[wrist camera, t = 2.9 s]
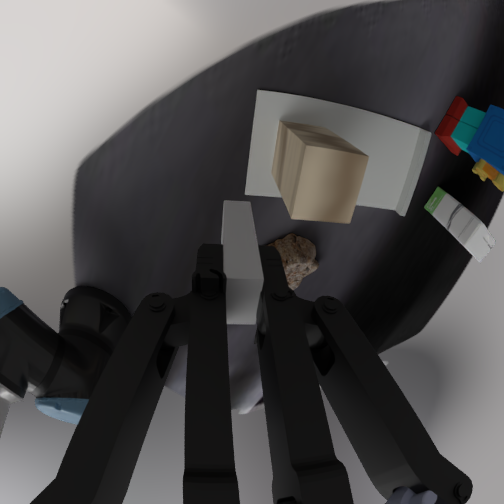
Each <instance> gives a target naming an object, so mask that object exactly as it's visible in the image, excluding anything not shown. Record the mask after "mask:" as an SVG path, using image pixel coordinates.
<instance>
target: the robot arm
mask: <svg viewBox="0 0 504 504" xmlns="http://www.w3.org/2000/svg"><path fill="white" fill-rule="evenodd" d="M256 318H257V330H256V335H255V340H254V344H256V343H257V347H258V355H259V364H260V372H261V381H262V389H263V397H264V406H265V414H266V421H267V430H268V438H269V447H270V454H271V462H272V470H273V481H272V494H273V502H274V504H354V503H353V498H352V493H351V489H350V484H349V478H348V474H347V471H346V468H345V466H344V465H343V463H342V462H340V461H339V460H338V459H337V458H336V456H335V453H334V448H333V443H332V439H331V434H330V430H329V425H328V421H327V417H326V412H325V408H324V404H323V400H322V395H321V391H320V387H319V384H320V386H321V388H322V390H323V391H324V393H325V395H326V397H327V399H328V401H329V403H330V405H331V407H332V409H333V410H334V412H335V414H336V416H337V418H338V420H339V422H340V424H341V425H342V427H343V429H344V431H345V433H346V435H347V437H348V438H349V441H350V442H351V444H352V446H353V448H354V450H355V452H356V454H357V456H358V458H359V459H360V461H361V463H362V465H363V467H364V469H365V471H366V473H367V474H368V476H369V478H370V480H371V481H372V483H373V485H374V486H375V488H376V489H377V490H378V491H379V493H380V494H381V495H382V496H383V497H384V498H385V499H387V500H388V501H387V502H386V503H385V504H465V503H466V502H467V501H468V500H469V498H470V496H471V494H472V488H473V485H472V481H471V480H470V478H469V477H468V476H467V475H466V474H464V473H463V472H462V471H460V470H459V469H458V468H457V467H456V466H454V465H453V464H452V463H451V462H449V461H448V460H447V459H446V458H444V457H443V456H442V455H441V454H440V453H439V452H438V450H437V448H436V446H435V445H434V443H433V441H432V440H431V438H430V436H429V435H428V433H427V431H426V430H425V428H424V426H423V425H422V423H421V421H420V420H419V418H418V416H417V415H416V413H415V412H414V410H413V408H412V407H411V405H410V404H409V402H408V401H407V399H406V398H405V396H404V394H403V393H402V391H401V389H400V388H399V386H398V385H397V383H396V382H395V380H394V379H393V377H392V376H391V374H390V373H389V371H388V369H387V368H386V366H385V365H384V363H383V362H382V360H381V359H380V357H379V356H378V354H377V353H376V351H375V350H374V348H373V347H372V345H371V344H370V343H369V341H368V340H367V338H366V337H365V335H364V334H363V332H362V331H361V329H360V328H359V327H358V325H357V324H356V322H355V321H354V319H353V318H352V317H351V315H350V314H349V312H348V311H347V309H346V308H345V307H344V305H343V304H342V303H341V302H340V301H339V300H338V299H336V298H334V297H331V296H321V297H319V298H317V300H316V301H315V302H312V301H308V300H304V299H301V298H299V297H297V296H296V294H295V292H294V291H293V290H292V289H291V288H290V287H289V286H288V282H287V278H286V275H285V271H284V267H283V263H282V261H281V256H280V252H279V251H278V250H277V249H276V248H275V247H274V246H260V245H258V243H257V237H256V232H255V226H254V220H253V215H252V209H251V204H250V202H245V201H228V200H224V207H223V221H222V236H221V244H202V246H201V247H200V248H199V249H198V255H197V264H196V271H195V272H194V273H193V275H192V291H191V292H190V293H189V294H187V295H185V296H183V297H179V298H175V299H172V298H171V297H170V296H169V295H167V294H165V293H158V292H157V293H152V294H149V295H147V296H146V297H145V298H144V299H143V300H142V301H141V303H140V305H139V306H138V308H137V310H136V312H135V313H134V315H133V317H132V319H131V316H130V314H129V312H128V310H127V309H126V308H125V306H124V305H123V304H122V303H121V302H120V301H119V300H117V299H116V298H115V297H113V296H112V295H110V294H108V293H106V292H104V291H102V290H99V289H96V288H92V287H75V288H73V289H71V290H69V291H68V292H67V293H66V295H65V297H64V299H63V301H62V304H61V309H60V325H59V333H56V332H55V331H54V330H53V329H52V328H51V327H49V326H48V325H47V324H46V323H45V322H44V321H42V320H41V319H40V318H39V317H38V316H37V315H36V314H34V313H33V312H32V311H31V310H30V309H29V308H28V307H27V306H26V305H24V303H23V301H22V300H19V299H18V298H17V297H16V296H15V295H14V294H12V293H11V292H10V291H9V290H8V289H7V288H5V287H0V437H1V433H2V429H3V427H4V423H5V420H6V417H7V414H8V411H9V408H10V405H11V404H12V403H15V402H19V401H22V400H23V398H24V395H25V393H26V391H28V392H29V393H31V394H32V395H34V396H35V397H36V399H35V405H36V408H37V409H38V410H40V411H41V412H43V413H44V414H46V415H48V416H51V417H53V418H55V419H58V420H61V421H64V422H68V423H73V424H77V427H76V429H75V432H74V434H73V436H72V439H71V441H70V443H69V446H68V448H67V450H66V453H65V456H64V458H63V461H62V463H61V466H60V468H59V471H58V473H57V476H56V478H55V479H54V480H53V481H52V482H51V483H50V484H49V485H48V486H47V487H46V488H45V489H44V490H43V491H42V492H41V493H40V494H39V495H38V496H37V497H36V498H35V499H34V500H33V501H32V502H31V503H30V504H122V502H123V500H124V497H125V495H126V492H127V490H128V486H129V483H130V480H131V477H132V474H133V471H134V468H135V465H136V462H137V459H138V457H139V454H140V451H141V448H142V445H143V442H144V439H145V436H146V434H147V431H148V428H149V425H150V422H151V420H152V417H153V414H154V411H155V409H156V406H157V403H158V400H159V398H160V395H161V392H162V390H163V387H164V385H165V382H166V379H167V377H168V374H169V371H170V369H171V366H172V364H173V361H174V358H175V356H176V353H177V351H178V348H179V346H183V345H187V344H188V356H187V374H186V398H185V400H186V401H185V469H184V475H183V504H240V500H239V490H238V481H237V476H236V471H235V461H234V448H233V434H232V419H231V403H230V385H229V365H228V343H227V324H255V322H256ZM318 382H319V383H318Z"/></svg>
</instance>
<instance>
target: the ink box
mask: <svg viewBox="0 0 504 504" xmlns="http://www.w3.org/2000/svg"><path fill="white" fill-rule="evenodd" d="M424 208H425V209H426V210H427V211H429V212H430V213H431V214H432V215H433V216H434V217H435V218H436V219H437V220H438V221H439V222H440V223H441V224H442V225H443V226H444V227H445V228H446V229H447V230H448V231H449V232H450V233H451V234H452V235H453V236H454V237H455V238H456V239H457V240H458V241H459V242H460V243H461V244H462V245H463V246H464V247H465V248H466V249H467V250H468V251H469V252H470V253H471V254H472V255H473V256H474V257H475V258H476V259H477V260H478V261H479V262H481V261H482V260H483V259H484V257H485V256H486V255H487V254H488V252H489V251H490V250H491V249H492V248H493V246H494V245H495V243H496V241H495V239H494V238H493V237H492V235H491V234H490V232H489V231H488V229H487V228H486V226H485V225H484V224H483V223H482V221H481V220H479V219H478V218H477V217H476V216H475V215H474V214H473V213H472V212H470V211H469V210H468V209H467V208H466V207H464V206H463V205H462V204H461V203H459V202H458V201H457V200H456V199H454V198H453V197H452V196H451V195H449V194H448V193H447V192H445V191H444V190H443V189H441V188H440V187H437V189H436V190H435V192H434V193H433V195H432V196H431V197H430V199H429V200H428V202H427V203H426V205H425V206H424Z"/></svg>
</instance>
